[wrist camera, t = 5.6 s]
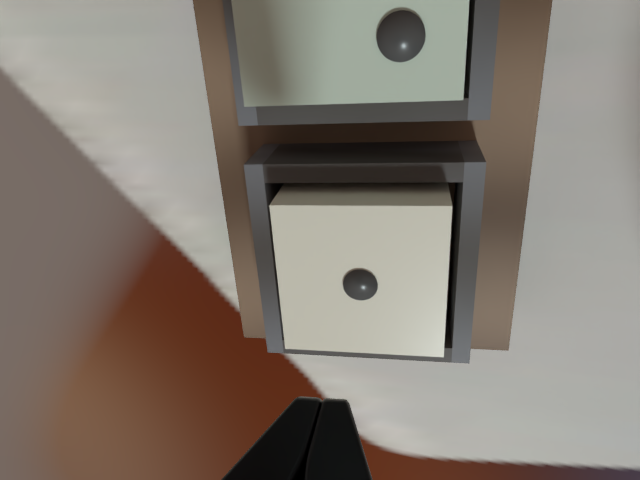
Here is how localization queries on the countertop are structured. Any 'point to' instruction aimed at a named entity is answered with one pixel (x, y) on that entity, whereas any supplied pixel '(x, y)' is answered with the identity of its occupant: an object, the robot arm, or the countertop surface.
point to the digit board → (391, 166)
